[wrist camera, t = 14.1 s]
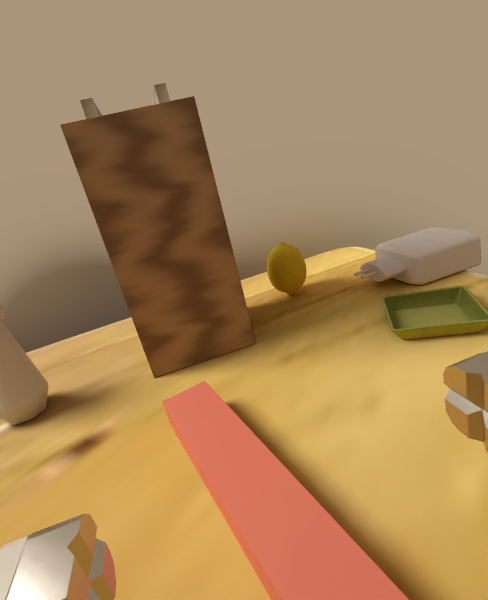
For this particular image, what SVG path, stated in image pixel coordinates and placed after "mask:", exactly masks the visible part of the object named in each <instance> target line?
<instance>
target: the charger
mask: <svg viewBox="0 0 488 600" xmlns="http://www.w3.org/2000/svg"><path fill="white" fill-rule="evenodd" d="M375 252H376V260H374V261H371V262H368V263H365V264H363V265H362V266H361V267H360V269H361V270H362V271H360V272H357V273H354V275H355V276H358V275H361V274H365V275H363V276H361V278H362V279H365V278H368V279H371V280H374V281H376V282H380V281H383V280H386V279H389V278H394V279H397V280H400V281H403V282H406V283H409V284H414V285H423V284H426V283H429V282H431V281H434V280H437V279H440V278H443V277H446V276H449V275H452V274H454V273H457V272H460V271H463V270H466V269H468V268H472V267H474V266H477V265H479V264H480V262H481V249H480V237H479V236H478V235H477V234H476V233H473V232H470V231H462V230H454V229H446V228H438V227H431V228H428V229H425V230H422V231H419V232H415V233H412V234H409V235H406V236H403V237H400V238H396V239H393V240H390V241H387V242H384V243H381V244H378V246H377V248H376V250H375Z"/></svg>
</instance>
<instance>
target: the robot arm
mask: <svg viewBox="0 0 488 600" xmlns="http://www.w3.org/2000/svg"><path fill="white" fill-rule="evenodd" d="M443 376H444V384H445V385H446V386H448V387H449V388H450V390H449V392H448V394H447V396H446V398H445V404H446V412H447V414H448V415H449V417H450V419H451V421H452V423H453V424H454V425H455V426H456V428H457V429H458V430H459V431H460V432H462V433H463V434H464V435H466V436H467V437H468V438H471V439H475V440H478V441H482V442H483V443H484V446H485V449H486V451H487V452H488V350H485V351H483V352H482V353H480V354H477V355H475V356H472V357H470V358H467V359H465V360H463V361H460V362H458V363H455V364H453V365H450V366H448V367H446V369H445V371H444V373H443ZM96 531H97V526H96V524H95V522H94V520H93V519H92V517H91V515H90V514H82V515H80V516H77V517H74V518H72V519H69V520H66V521H64V522H61V523H59V524H56V525H53V526H51V527H48V528H45V529H43V530H40V531H37V532H35V533H32V534H31V535H29V536H26V537H23V538H21V539H18V540H15V541H13V542H10V543H7V544H5V545H3V547H2V548H1V549H0V600H114V598H115V589H116V578H115V569H114V562H113V559H112V556H111V553H110V550H109V548H108V546H107V544H106V542H103V541H100V540H98V539H96Z"/></svg>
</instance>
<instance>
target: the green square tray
mask: <svg viewBox="0 0 488 600" xmlns="http://www.w3.org/2000/svg"><path fill="white" fill-rule="evenodd" d="M381 299H382V302H383V305H384V308H385V312H386V315H387V318H388V321H389V324H390V328H391V330H392V331H393V332H394V333H395V334H396V335H397V336H399V337H400V338H402V339H406V340H407V339H417V338H427V337H437V336H448V335H458V334H468V333H476V332H479V331H481V330H482V329H484V328H485V327H487V326H488V311H487V310H486V309H485V307H484V306H483V305H482V304H481V303H480V302H479V301H478V300H477V299H476V298H475V297H474V295H473V294H472V293H471V292H470V291H469V290H468V289H467V288H466V287H464V286H456V287H448V288H441V289H434V290H427V291H419V292H411V293H404V294H397V295H389V296H384V297H382V298H381Z"/></svg>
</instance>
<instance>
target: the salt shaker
mask: <svg viewBox="0 0 488 600" xmlns="http://www.w3.org/2000/svg"><path fill="white" fill-rule="evenodd" d="M3 317H4V312H3V309H2V307H1V306H0V320H1V319H2V318H3ZM47 394H48V383H47V381H46V380H45V378H44V377H43V376H42V374H41V373H40V372H39V370H38V369H37V368H36V367H35V365H34V364H33V363H32V361H31V360H30V359H29V357H28V356H27V355H26V353H25V352H24V351H23V350H22V348H21V347H20V346H19V344H18V343H17V342H16V340H15V339H14V338H13V336H12V335H11V334H10V332H9V331H8V330H7V329H6V327H5V326H4V325H3V323H2V322H1V321H0V418H1V419H3V420H5V421H7V422H9V423H11V424H12V425H16V424H19V423H22V422H25V421H28V420H31V419H33V418H34V417H35V416H37V415H38V414H39V413H41V412H42V411H43V410H44V409H46V403H47Z"/></svg>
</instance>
